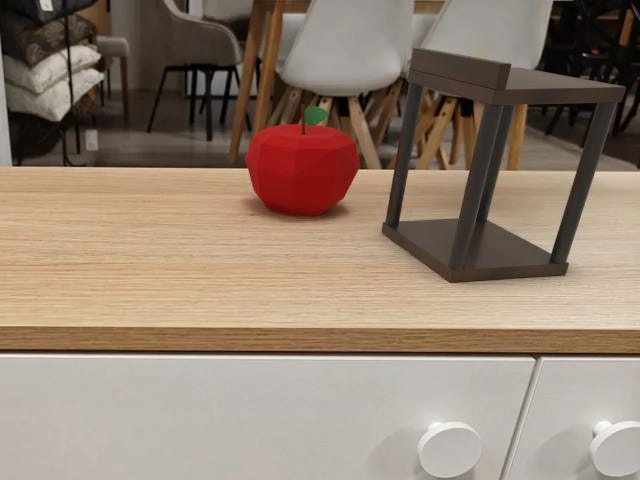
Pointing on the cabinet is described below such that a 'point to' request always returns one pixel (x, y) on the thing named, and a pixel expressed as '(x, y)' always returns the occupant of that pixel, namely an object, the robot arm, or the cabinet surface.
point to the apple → (302, 165)
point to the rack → (492, 167)
